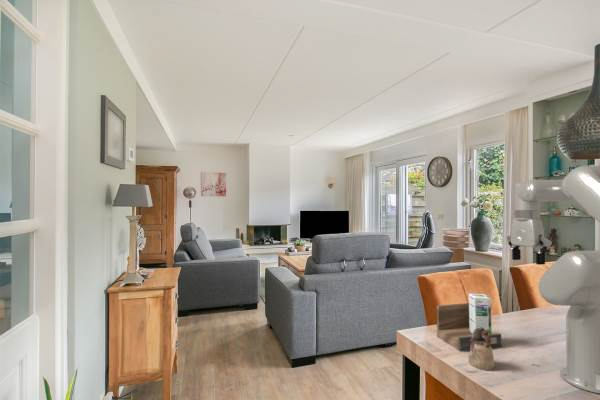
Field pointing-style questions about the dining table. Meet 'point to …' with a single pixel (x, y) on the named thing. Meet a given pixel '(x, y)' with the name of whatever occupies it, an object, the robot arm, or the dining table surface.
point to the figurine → (481, 350)
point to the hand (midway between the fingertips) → (528, 261)
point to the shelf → (458, 327)
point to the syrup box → (479, 312)
